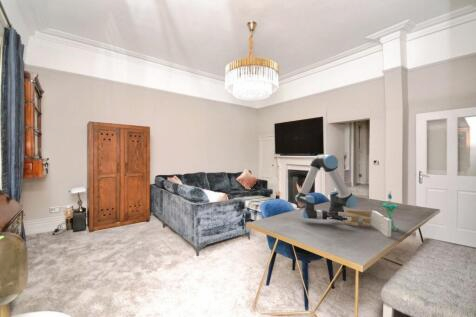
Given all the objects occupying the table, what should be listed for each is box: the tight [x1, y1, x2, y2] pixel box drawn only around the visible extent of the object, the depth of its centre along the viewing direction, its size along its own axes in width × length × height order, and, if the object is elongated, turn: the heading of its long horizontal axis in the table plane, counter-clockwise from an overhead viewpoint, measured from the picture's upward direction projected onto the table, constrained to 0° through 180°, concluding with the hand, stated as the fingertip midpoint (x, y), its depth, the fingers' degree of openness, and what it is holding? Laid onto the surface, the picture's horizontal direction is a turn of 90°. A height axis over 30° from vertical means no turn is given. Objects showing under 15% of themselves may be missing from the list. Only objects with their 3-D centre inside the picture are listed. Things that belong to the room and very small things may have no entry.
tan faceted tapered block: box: [344, 209, 371, 227], centre depth 177 cm, size 2×18×12 cm, turn 79°
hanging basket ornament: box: [381, 190, 399, 232], centre depth 170 cm, size 11×11×30 cm
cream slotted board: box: [371, 210, 392, 238], centre depth 165 cm, size 26×2×12 cm, turn 169°
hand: (348, 216), depth 178 cm, fingers open, 13 cm apart
